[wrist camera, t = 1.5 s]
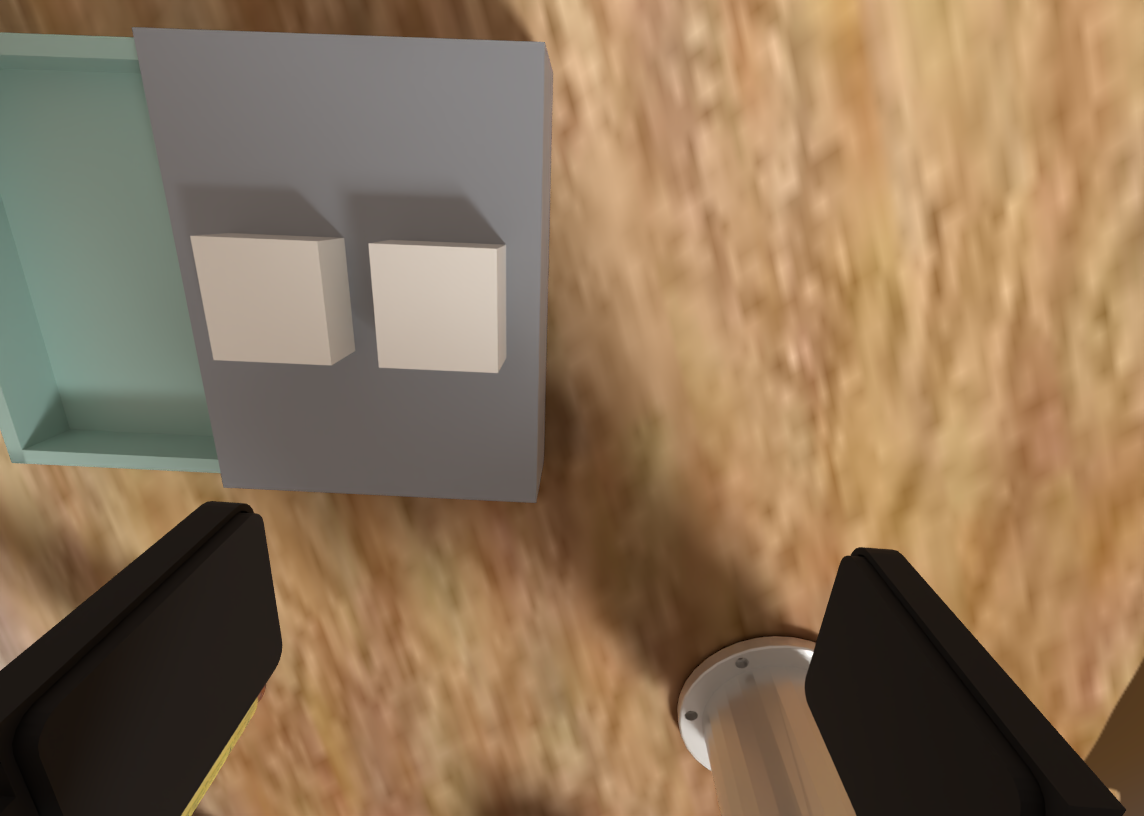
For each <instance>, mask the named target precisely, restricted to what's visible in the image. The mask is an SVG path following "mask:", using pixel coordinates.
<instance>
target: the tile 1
mask: <svg viewBox="0 0 1144 816" xmlns="http://www.w3.org/2000/svg"><path fill="white" fill-rule="evenodd" d="M190 238H191V243H192V249H193V254H194V259H195V264H196V270H197V275H198V280H199V286H200V291H201V296H202V301H203V307H204V312H205V317H206V322H207V328H208V333H209V338H210V344H211V349H212V354H213V359H214V360H223V361H245V362H267V363H289V364H311V365H333V364H335V363H336V362H338V361H340V360H341V359H343V358H345V357H346V356H348V355H349V354H351V353H353V352H354V351H355V343H354V333H353V322H352V312H351V302H350V292H349V282H348V272H347V261H346V251H345V241H344V238H335V237H312V236H288V235H264V234H240V233H223V234H209V235H195V236H190Z"/></svg>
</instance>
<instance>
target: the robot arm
mask: <svg viewBox="0 0 1144 816" xmlns="http://www.w3.org/2000/svg"><path fill="white" fill-rule="evenodd" d="M281 653H282V638H281V631H280V625H279V619H278V612H277V606H276V599H275V593H274V586H273V580H272V574H271V567H270V561H269V554H268V548H267V542H266V535H265V529H264V523H263V519H262V517H261V516H260V515H259V514H255V513H254V512H253V509H252V508H251V507H250V505H248V504H244V503H230V502H216V501H210V502H206V503H204V504H202V505H201V506H200V507H198V508H197V509H196V510H195V511H194V512H192V513H191V514H190V515H189V516H188V517H186V518H185V519H184V520H183V521H181V522H180V523H179V524H178V525H177V526H175V527H174V528H173V529H172V530H171V531H169V532H168V533H167V534H166V535H165V536H163V537H162V538H161V539H160V540H158V541H157V542H156V543H155V544H154V545H152V546H151V547H150V548H149V549H148V550H146V551H145V552H144V553H143V554H141V555H140V556H139V557H138V558H137V559H135V560H134V561H133V562H132V563H131V564H129V565H128V566H127V567H126V568H124V569H123V570H122V571H121V572H120V573H118V574H117V575H116V576H115V577H114V578H112V579H111V580H110V581H109V582H108V583H106V584H105V585H104V586H103V587H101V588H100V589H99V590H98V591H97V592H95V593H94V594H93V595H92V596H91V597H89V598H88V599H87V600H86V601H84V602H83V603H82V604H81V605H80V606H78V607H77V608H76V609H75V610H74V611H72V612H71V613H70V614H69V615H67V616H66V617H65V618H64V619H63V620H61V621H60V622H59V623H58V624H57V625H55V626H54V627H53V628H52V629H51V630H49V631H48V632H47V633H46V634H44V635H43V636H42V637H41V638H40V639H38V640H37V641H36V642H35V643H34V644H32V645H31V646H30V647H29V648H27V649H26V650H25V651H24V652H23V653H21V654H20V655H19V656H18V657H17V658H15V659H14V660H13V661H12V662H10V663H9V664H8V665H7V666H6V667H4V668H3V669H2V670H1V671H0V816H181V815H182V813H183V812H184V810H185V809H186V807H187V806H188V804H189V803H190V801H191V799H192V798H193V796H194V795H195V793H196V792H197V790H198V789H199V787H200V785H201V784H202V782H203V781H204V779H205V778H206V776H207V774H208V773H209V771H210V770H211V768H212V767H213V765H214V764H215V762H216V760H217V759H218V757H219V756H220V754H221V753H222V751H223V750H224V748H225V746H226V745H227V743H228V742H229V740H230V739H231V737H232V736H233V734H234V732H235V731H236V729H237V728H238V726H239V725H240V723H241V722H242V720H243V718H244V717H245V715H246V714H247V712H248V711H249V709H250V708H251V706H252V704H253V703H254V701H255V700H256V698H257V697H258V695H259V694H260V692H261V690H262V689H263V687H264V686H265V684H266V683H267V681H268V680H269V678H270V676H271V675H272V673H273V672H274V670H275V669H276V667H277V665H278V662H279V660H280V657H281ZM677 712H678V723H679V728H680V733H681V737H682V739H683V741H684V743H685V746H686V748H687V749H688V750H689V752H690V753H691V754H692V756H693V757H694V758H695V759H696V760H697V761H698V762H700V763H701V764H702V765H703V766H704V767H706V768H707V769H709V770H710V771H712V775H713V780H714V784H715V789H716V794H717V798H718V803H719V808H720V812H721V816H1122V815H1123V814H1124V813H1125V811H1126V809H1125V808H1124V807H1123V806H1122V804H1121V803H1120V802H1119V801H1118V800H1117V799H1116V797H1115V796H1114V795H1113V794H1112V793H1111V792H1110V791H1109V789H1108V788H1107V787H1106V786H1105V785H1104V784H1103V783H1102V782H1101V781H1100V779H1099V778H1098V777H1097V776H1096V775H1095V774H1094V773H1093V771H1092V770H1091V769H1090V768H1089V767H1088V766H1087V765H1086V763H1085V762H1084V761H1083V760H1082V759H1081V758H1080V756H1079V755H1078V754H1077V753H1076V752H1075V751H1074V750H1073V749H1072V747H1071V746H1070V745H1069V744H1068V743H1067V742H1066V741H1065V739H1064V738H1063V737H1062V736H1061V735H1060V734H1059V733H1058V731H1057V730H1056V729H1055V728H1054V727H1053V726H1052V725H1051V723H1050V722H1049V721H1048V720H1047V719H1046V718H1045V717H1044V716H1043V714H1042V713H1041V712H1040V711H1039V710H1038V709H1037V708H1036V706H1035V705H1034V704H1033V703H1032V702H1031V701H1030V700H1029V698H1028V697H1027V696H1026V695H1025V694H1024V693H1023V692H1022V690H1021V689H1020V688H1019V687H1018V686H1017V685H1016V684H1015V683H1014V681H1013V680H1012V679H1011V678H1010V677H1009V676H1008V675H1007V673H1006V672H1005V671H1004V670H1003V669H1002V668H1001V667H1000V665H999V664H998V663H997V662H996V661H995V660H994V659H993V658H992V656H991V655H990V654H989V653H988V652H987V651H986V650H985V648H984V647H983V646H982V645H981V644H980V643H979V642H978V640H977V639H976V638H975V637H974V636H973V635H972V634H971V632H970V631H969V630H968V629H967V628H966V627H965V626H964V625H963V623H962V622H961V621H960V620H959V619H958V618H957V617H956V615H955V614H954V613H953V612H952V611H951V610H950V609H949V607H948V606H947V605H946V604H945V603H944V602H943V601H942V599H941V598H940V597H939V596H938V595H937V594H936V593H935V592H934V590H933V589H932V588H931V587H930V586H929V585H928V584H927V582H926V581H925V580H924V579H923V578H922V577H921V576H920V574H919V573H918V572H917V571H916V570H915V569H914V568H913V566H912V565H911V564H910V563H909V562H908V561H907V560H906V559H905V557H904V556H903V555H902V554H901V553H899V552H898V551H896V550H890V549H876V548H862V547H860V548H856V549H855V550H854V551H853V552H852V554H851V556H845V557H844V558H843V559H842V560H841V563H840V565H839V569H838V572H837V575H836V579H835V582H834V585H833V588H832V592H831V595H830V598H829V602H828V605H827V608H826V612H825V615H824V618H823V622H822V625H821V628H820V631H819V635H818V638H817V641H816V643H815V642H812V641H809V640H804V639H799V638H795V637H781V636H772V637H761V638H754V639H750V640H746V641H742V642H738V643H736V644H733V645H731V646H729V647H726V648H724V649H722V650H720V651H718V652H717V653H715V654H713V655H712V656H710V657H709V658H707V659H706V660H705V661H704V662H703V663H701V664H700V665H699V666H698V667H697V668H696V669H695V670H694V671H693V672H692V674H691V675H690V676H689V678H688V679H687V680H686V682H685V684H684V686H683V688H682V690H681V693H680V696H679V701H678V706H677Z"/></svg>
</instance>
